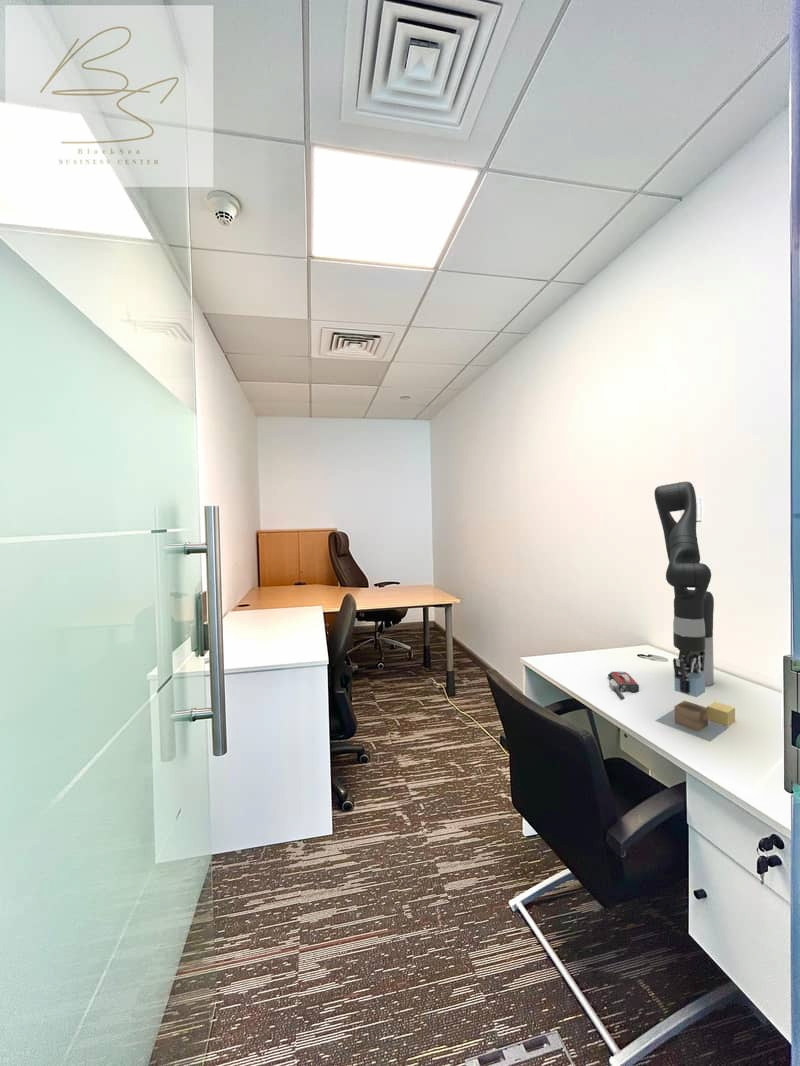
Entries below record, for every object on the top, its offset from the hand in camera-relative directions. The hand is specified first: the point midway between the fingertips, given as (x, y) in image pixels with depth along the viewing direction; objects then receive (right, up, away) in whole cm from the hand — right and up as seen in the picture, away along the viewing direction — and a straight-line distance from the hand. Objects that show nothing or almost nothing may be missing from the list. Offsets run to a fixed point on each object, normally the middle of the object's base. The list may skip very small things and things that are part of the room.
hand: (689, 689), depth 119 cm
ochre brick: (+10, -11, +2) cm, 15 cm away
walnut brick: (+1, -10, 0) cm, 10 cm away
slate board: (+1, -11, 0) cm, 11 cm away
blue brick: (0, -1, 0) cm, 1 cm away
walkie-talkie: (-4, -11, +27) cm, 30 cm away
